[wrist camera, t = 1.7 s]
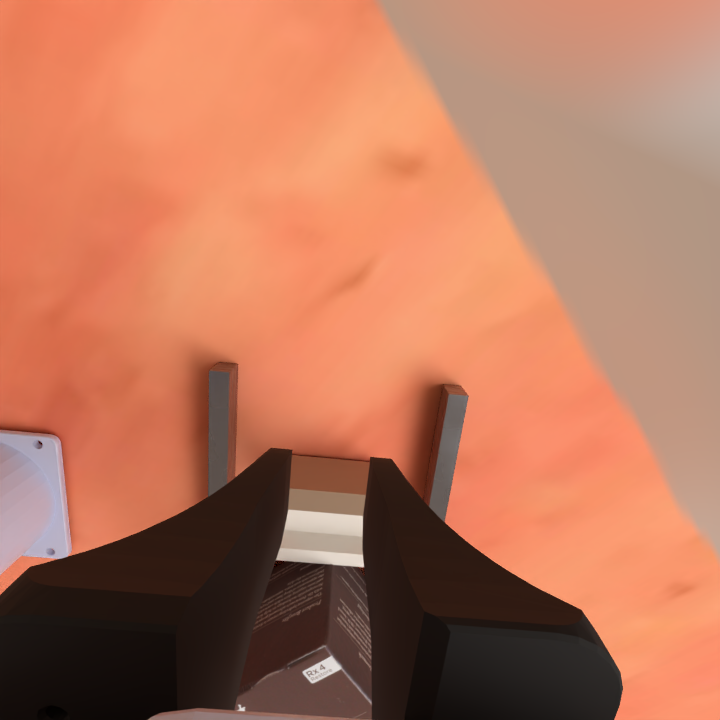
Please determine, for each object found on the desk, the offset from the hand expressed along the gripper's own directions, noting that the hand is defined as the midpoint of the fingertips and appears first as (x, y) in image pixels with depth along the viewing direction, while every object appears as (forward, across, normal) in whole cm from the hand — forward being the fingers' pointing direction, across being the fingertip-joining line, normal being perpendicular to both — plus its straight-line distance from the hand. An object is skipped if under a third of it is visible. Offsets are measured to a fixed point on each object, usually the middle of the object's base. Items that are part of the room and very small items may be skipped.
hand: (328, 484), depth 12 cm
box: (+10, 0, +14) cm, 17 cm away
